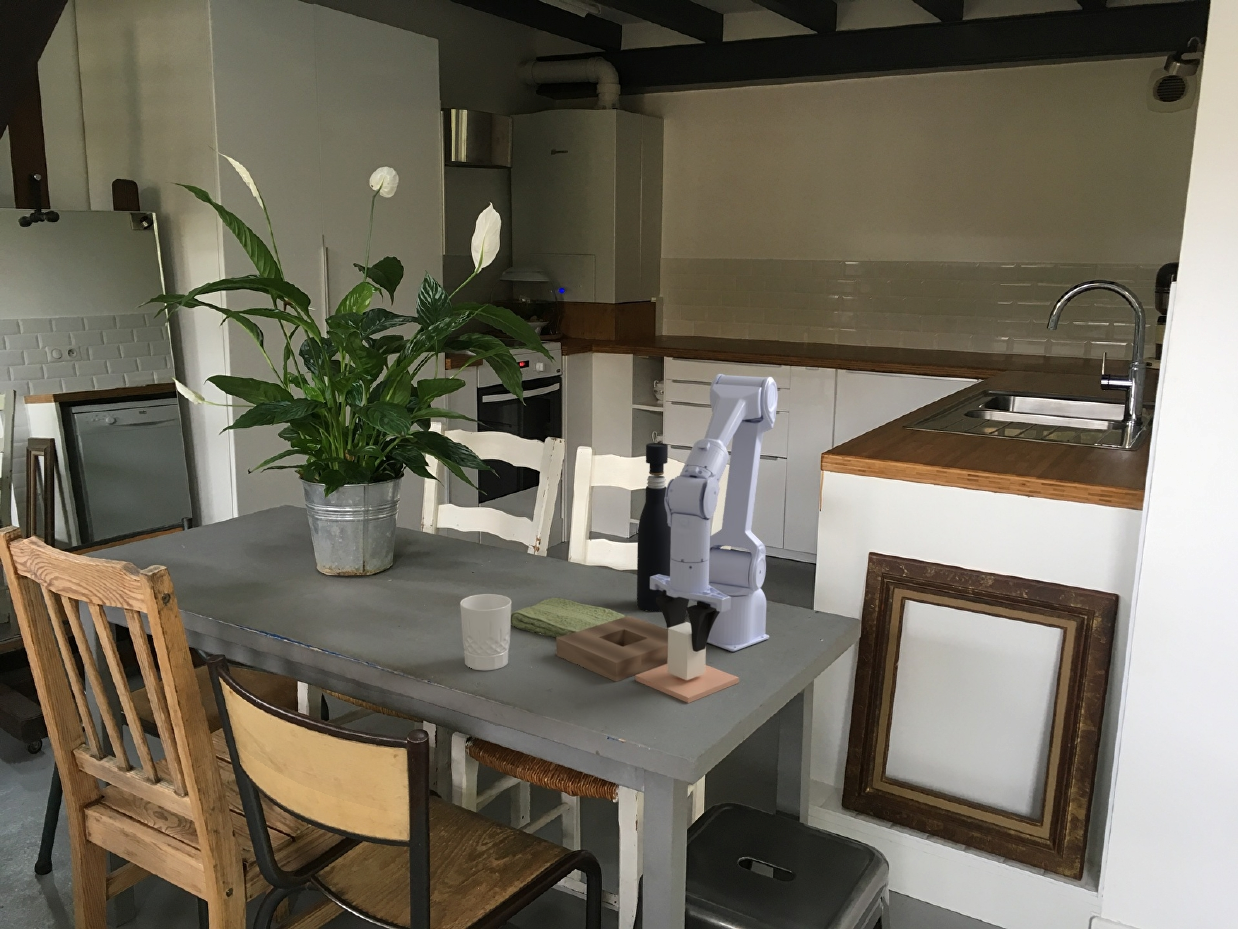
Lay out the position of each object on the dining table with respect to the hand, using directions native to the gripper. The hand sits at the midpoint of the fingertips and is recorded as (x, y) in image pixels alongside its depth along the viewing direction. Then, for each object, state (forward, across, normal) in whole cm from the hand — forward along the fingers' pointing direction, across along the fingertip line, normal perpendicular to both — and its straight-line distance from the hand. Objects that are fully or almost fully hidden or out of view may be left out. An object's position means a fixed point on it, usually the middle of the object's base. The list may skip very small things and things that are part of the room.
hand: (687, 645), depth 155 cm
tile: (+6, 0, 0) cm, 6 cm away
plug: (+4, 0, 0) cm, 4 cm away
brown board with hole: (+6, -14, 0) cm, 15 cm away
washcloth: (+6, -30, +2) cm, 31 cm away
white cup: (+6, -26, -18) cm, 32 cm away
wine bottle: (+6, -28, +21) cm, 35 cm away
